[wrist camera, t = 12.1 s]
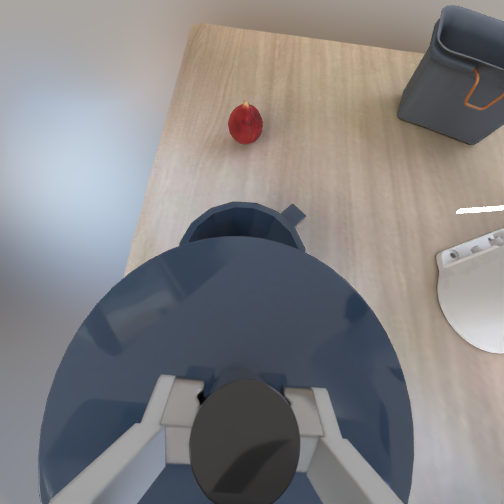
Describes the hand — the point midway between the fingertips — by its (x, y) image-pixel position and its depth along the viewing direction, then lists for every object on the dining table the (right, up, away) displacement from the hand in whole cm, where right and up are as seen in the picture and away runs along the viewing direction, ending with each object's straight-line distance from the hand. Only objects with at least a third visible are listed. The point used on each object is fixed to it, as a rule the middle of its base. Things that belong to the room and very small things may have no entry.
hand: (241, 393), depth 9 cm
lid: (0, -2, +3) cm, 3 cm away
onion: (-1, +25, +38) cm, 46 cm away
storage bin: (+39, +31, +44) cm, 67 cm away
